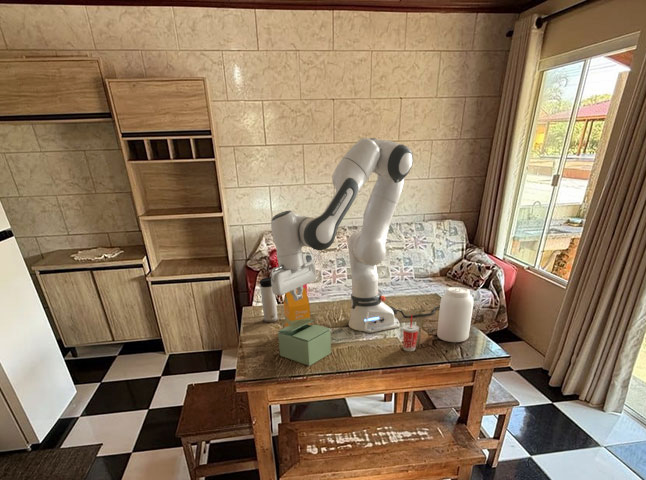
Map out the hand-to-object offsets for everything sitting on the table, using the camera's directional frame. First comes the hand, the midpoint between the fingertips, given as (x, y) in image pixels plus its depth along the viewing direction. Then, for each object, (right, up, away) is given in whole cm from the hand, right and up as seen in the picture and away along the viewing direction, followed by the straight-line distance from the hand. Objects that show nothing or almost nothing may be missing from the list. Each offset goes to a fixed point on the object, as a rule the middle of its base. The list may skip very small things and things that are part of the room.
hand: (298, 299), depth 148 cm
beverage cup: (+43, -17, +10) cm, 47 cm away
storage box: (+2, -20, +9) cm, 22 cm away
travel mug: (-15, -2, +42) cm, 45 cm away
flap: (-1, -9, +6) cm, 11 cm away
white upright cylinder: (+62, -12, +19) cm, 66 cm away
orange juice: (-1, -11, +26) cm, 28 cm away
